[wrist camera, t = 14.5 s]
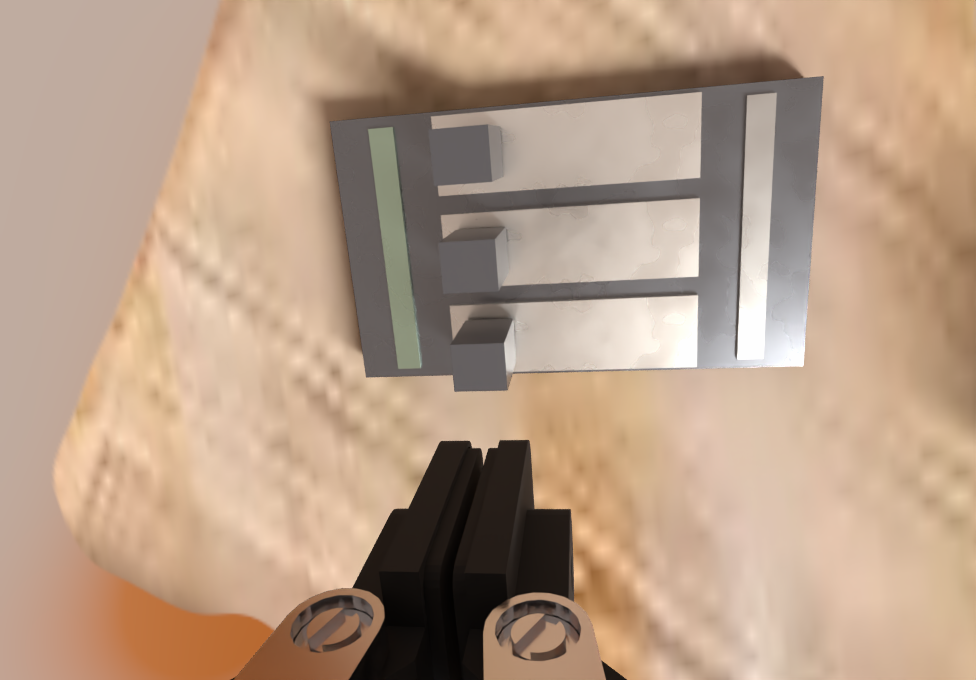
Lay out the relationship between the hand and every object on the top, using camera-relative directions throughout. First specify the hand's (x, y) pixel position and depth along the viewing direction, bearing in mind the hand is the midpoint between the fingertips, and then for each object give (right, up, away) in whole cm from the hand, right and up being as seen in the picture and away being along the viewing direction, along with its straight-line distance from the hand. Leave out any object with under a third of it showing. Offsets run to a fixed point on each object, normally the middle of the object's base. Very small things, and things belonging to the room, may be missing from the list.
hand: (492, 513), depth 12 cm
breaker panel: (+4, +8, +20) cm, 22 cm away
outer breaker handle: (-1, +12, +17) cm, 21 cm away
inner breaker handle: (0, +3, +20) cm, 20 cm away
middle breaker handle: (0, +8, +19) cm, 20 cm away
